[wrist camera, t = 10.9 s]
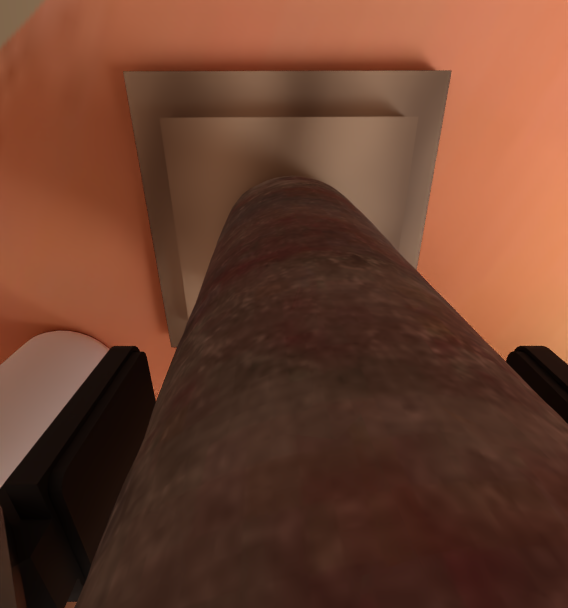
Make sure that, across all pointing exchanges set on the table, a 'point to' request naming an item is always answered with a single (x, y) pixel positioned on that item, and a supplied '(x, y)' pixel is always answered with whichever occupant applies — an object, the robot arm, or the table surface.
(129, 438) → the robot arm
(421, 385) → the dark brown rough cylinder
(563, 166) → the table surface
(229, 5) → the table surface
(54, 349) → the milk bottle
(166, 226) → the plinth
